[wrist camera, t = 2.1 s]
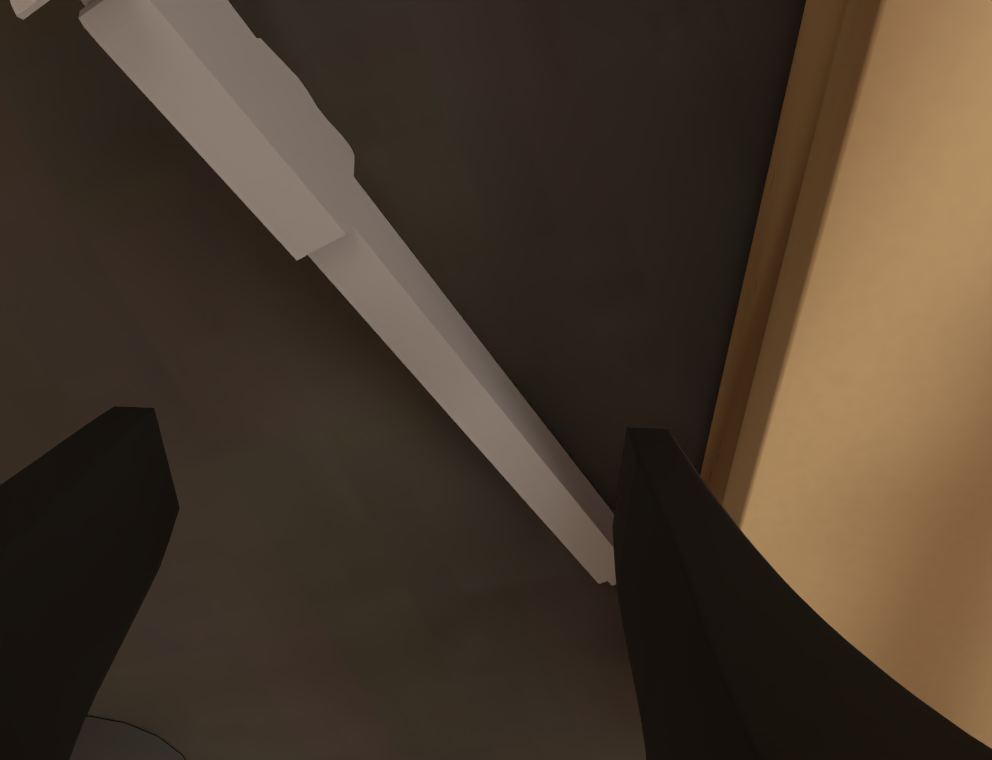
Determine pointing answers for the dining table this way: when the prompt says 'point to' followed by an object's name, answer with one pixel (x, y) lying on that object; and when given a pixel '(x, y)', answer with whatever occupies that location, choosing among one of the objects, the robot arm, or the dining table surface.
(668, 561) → the robot arm
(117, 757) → the candle holder
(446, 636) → the dining table surface
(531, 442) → the caliper
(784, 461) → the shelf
